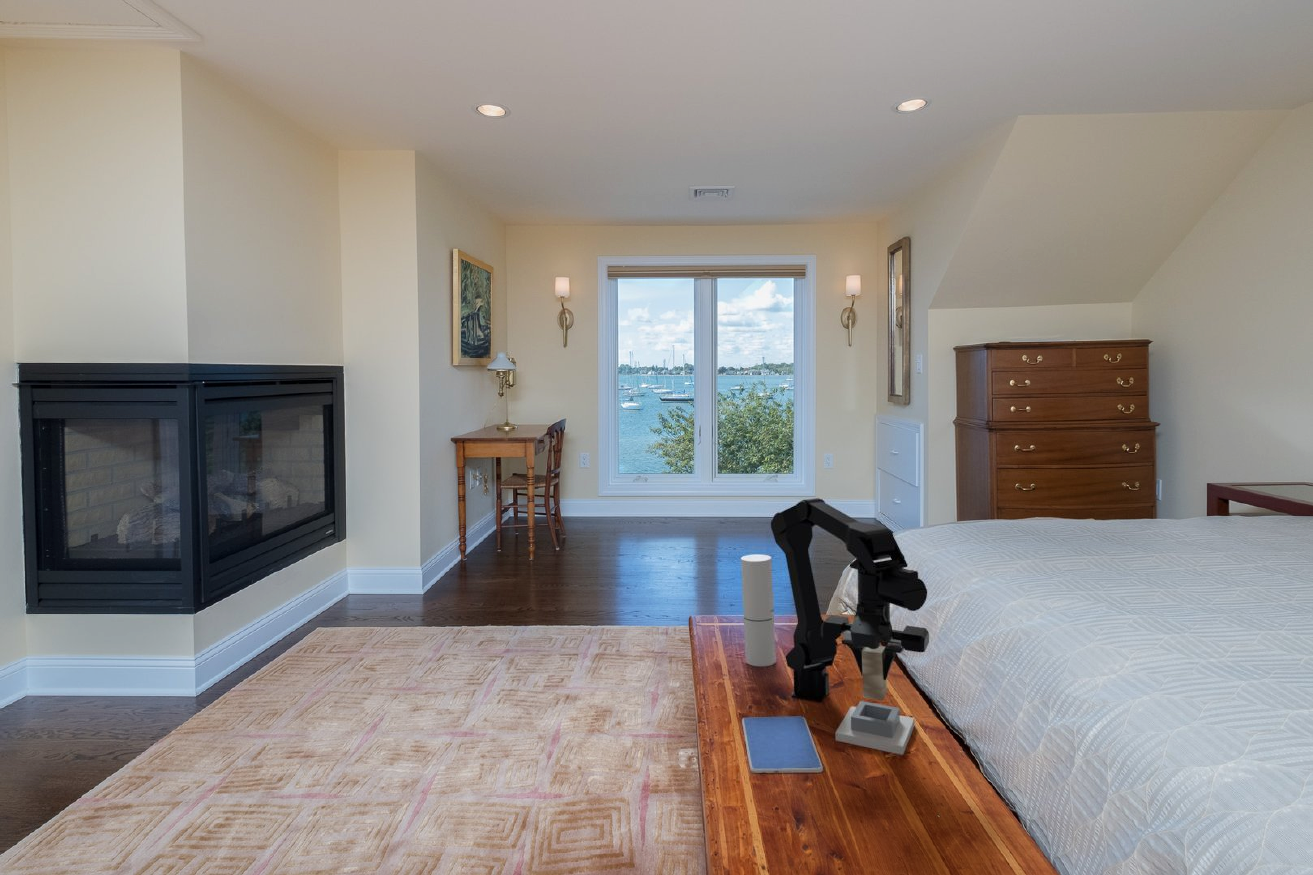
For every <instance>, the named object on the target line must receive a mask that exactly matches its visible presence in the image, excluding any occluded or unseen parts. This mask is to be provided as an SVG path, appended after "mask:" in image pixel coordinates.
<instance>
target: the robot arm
mask: <svg viewBox="0 0 1313 875" xmlns="http://www.w3.org/2000/svg"><path fill="white" fill-rule="evenodd" d="M815 526H817V527H819V528H821V529H822V530H824V531H825V532H827V533H828V534H830V535H832V536H834V537H836V538H837V539H838V540H840V541H842V542H843V543H844V544H845V548H846V550H847V552H848V553H849V554H850V555H852V556H853V557H854V559H855V560H853V561H852V562H851V563H849V567H850V568H851V569H854V570H856V571H857V603H856V613H855V615H854V618H853V620H852V623H850V620H849V617H847V616H839V615H833V614H830V615H829V616H827V618H826V619H825V620H824V619H823V617H822V612H821V609H820V603H819V596H818V593H817V589H816V583H815V578H814V573H813V567H812V563H811V562H812V561H811V557H810V552H809V550H810V546H811V543H812V540H813V537H814V535H813V534H814V533H813V528H814V527H815ZM770 528H771V532H772V534H773V538H774V542H775V543H776V545H777V546H778V547H779V549H781V550H782V552H783V554H784V556H785V561H786V564H787V566H786V567H787V571H788V575H789V582H790V585H791V586H790V587H791V590H792V597H793V602H794V607H795V611H796V612H795V613H796V617H797V618H796V619H797V623H796V626H795V630H794V633H793V638H792V639H793V647H792V649H790V651H788V653H787V654H786V655H785V661H786V665H787V668H790V669H791V670H793V691H792V693H791V698H795V699H796V698H797V699H801V700H806V701H811V702H817V703H822V702H823V701H824V699H825V698H826V697H827V696H828V694H829V693H830V674H829V673H828V672H827V667H833V664H834V660H835V657H836V655H837V653H838V652H837V651H838V648H837V646H838V645H839V644H838V642H837V640H838V638H840V637H841V636H842V640H841V644H842V645H845V646H847V647H848V648H849V649H850V650H851V652H852V654H853V655H854V659H855V661H856V663H857V667H858V670H859V672H860V675H861V676H862V650H863V648H864V647H868V648H870V649H877V648H878V647H879V646H881V645H880V644H881V643H887V644H886V646H884V647H885V661H884V670H883V678H884V680H886V681H887V680H888V679H887V678H888V675H889V673H890V670H891V669H892V668H891V667H892V665H893V662H894V659H895V656H896V654H901V653H903V651H904V650H905V651H909V652H915V653H925V652H926V649H927V648H928V646H929V643H930V633H929V631H928V629H927V628H925V627H921V626H911V625H906V626H905V627H904V628H903V630H896V629H893V626H892V623H891V604H892V605H895V606H897V607H899V608H903V609H905V610H908V611H910V612H916V611H919V610H920V609H921V608H922V607H924V605H925V603H926V600H927V597H928V589H927V587H926V584H925V581H923V579H921V578H919V572H918V571H917V570H914V569H907V568H908V567H909V566H908V563H907V561H906V558H905V557H906V556H904V554H903V552H902V550H901V548H900V546H899V545H898V543H897V541H896V540H897V539H896V538H895V536H894V533H893V532H892V531H891V530H890V529H889V528H887V527H884V526H881V525H877V524H873V523H865V522H861V521H858V520H856V519H854V518H853V517H851V516H850V515H847V514H846V513H844V512H842V511H841V510H839V509H836V508H835V507H833V506H832V505H829V504H828V503H826V502H825V500H823V499H822V498H818V497H815V498H807V499H802V500H800V501H799V502H797V503H796V504H795V505H792V506H791V507H788V508H787V509H785V510H783V511H781V512H779V511H778V512H777V513H775V514H774V515H773V517H772V519H771V521H770ZM889 558H890V559H889ZM878 560H879V561H878ZM880 560H881V561H880Z"/></svg>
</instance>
